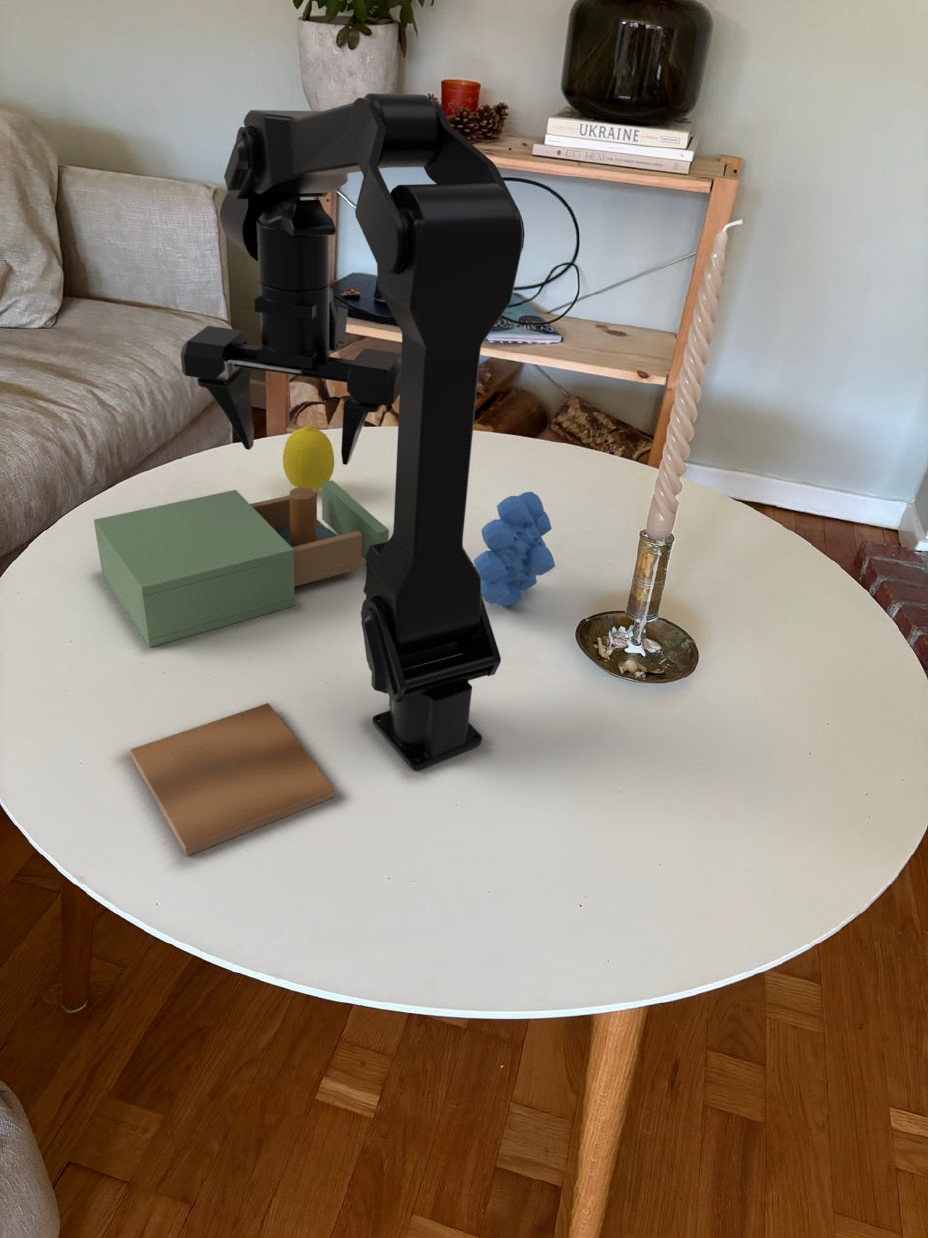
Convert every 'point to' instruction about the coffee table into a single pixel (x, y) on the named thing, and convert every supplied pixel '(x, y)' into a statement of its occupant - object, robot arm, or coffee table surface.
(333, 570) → the drawer
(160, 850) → the coffee table surface
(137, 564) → the cabinet
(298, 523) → the pot lid
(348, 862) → the coffee table surface
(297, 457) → the lemon
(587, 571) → the coffee table surface
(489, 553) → the grapes
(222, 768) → the wooden peg base
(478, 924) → the coffee table surface
